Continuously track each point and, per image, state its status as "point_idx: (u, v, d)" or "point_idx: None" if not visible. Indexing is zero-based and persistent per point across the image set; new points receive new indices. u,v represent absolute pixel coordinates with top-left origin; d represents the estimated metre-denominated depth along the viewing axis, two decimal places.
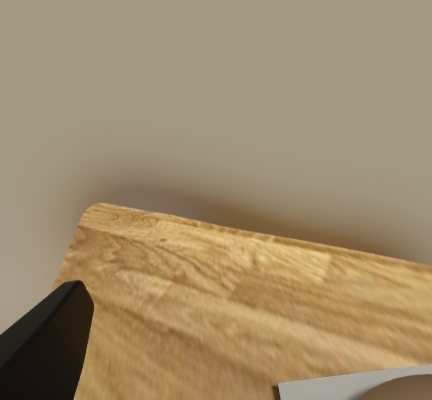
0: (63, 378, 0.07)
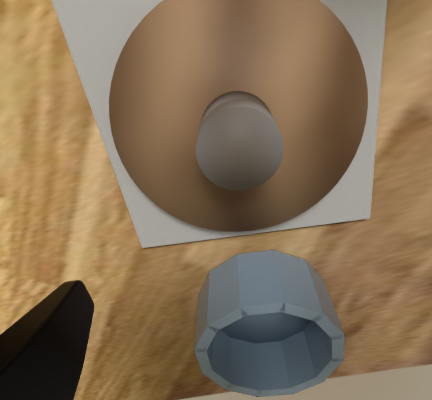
0: (63, 378, 0.07)
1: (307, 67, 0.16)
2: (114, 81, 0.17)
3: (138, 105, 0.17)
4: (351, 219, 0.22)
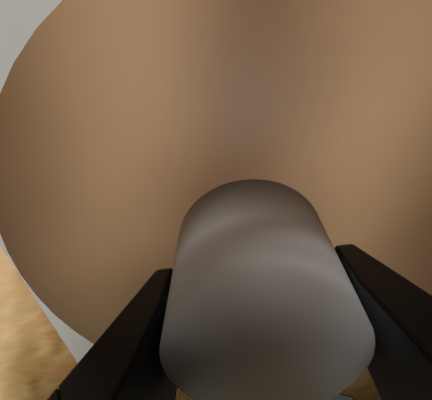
0: None
1: (404, 134, 0.07)
2: None
3: (51, 206, 0.09)
4: None
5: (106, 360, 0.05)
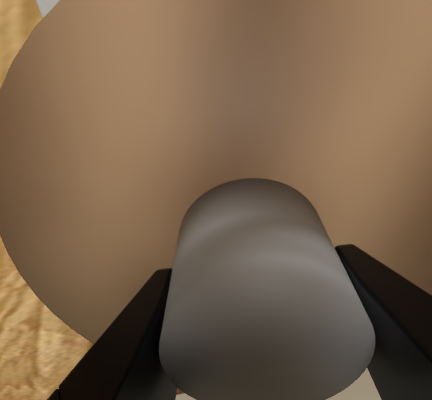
0: None
1: (405, 132, 0.07)
2: None
3: (51, 204, 0.08)
4: None
5: (106, 360, 0.05)
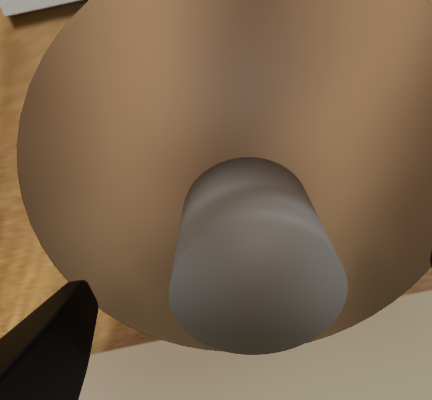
0: (68, 378, 0.07)
1: (377, 116, 0.09)
2: (22, 143, 0.09)
3: (71, 181, 0.10)
4: None
5: None
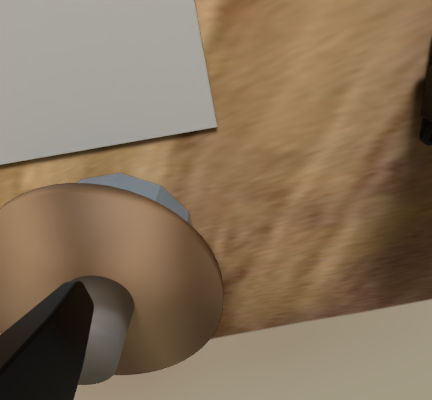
0: (63, 378, 0.07)
1: (153, 258, 0.16)
2: None
3: None
4: (196, 128, 0.19)
5: None
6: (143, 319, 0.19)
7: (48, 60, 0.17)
